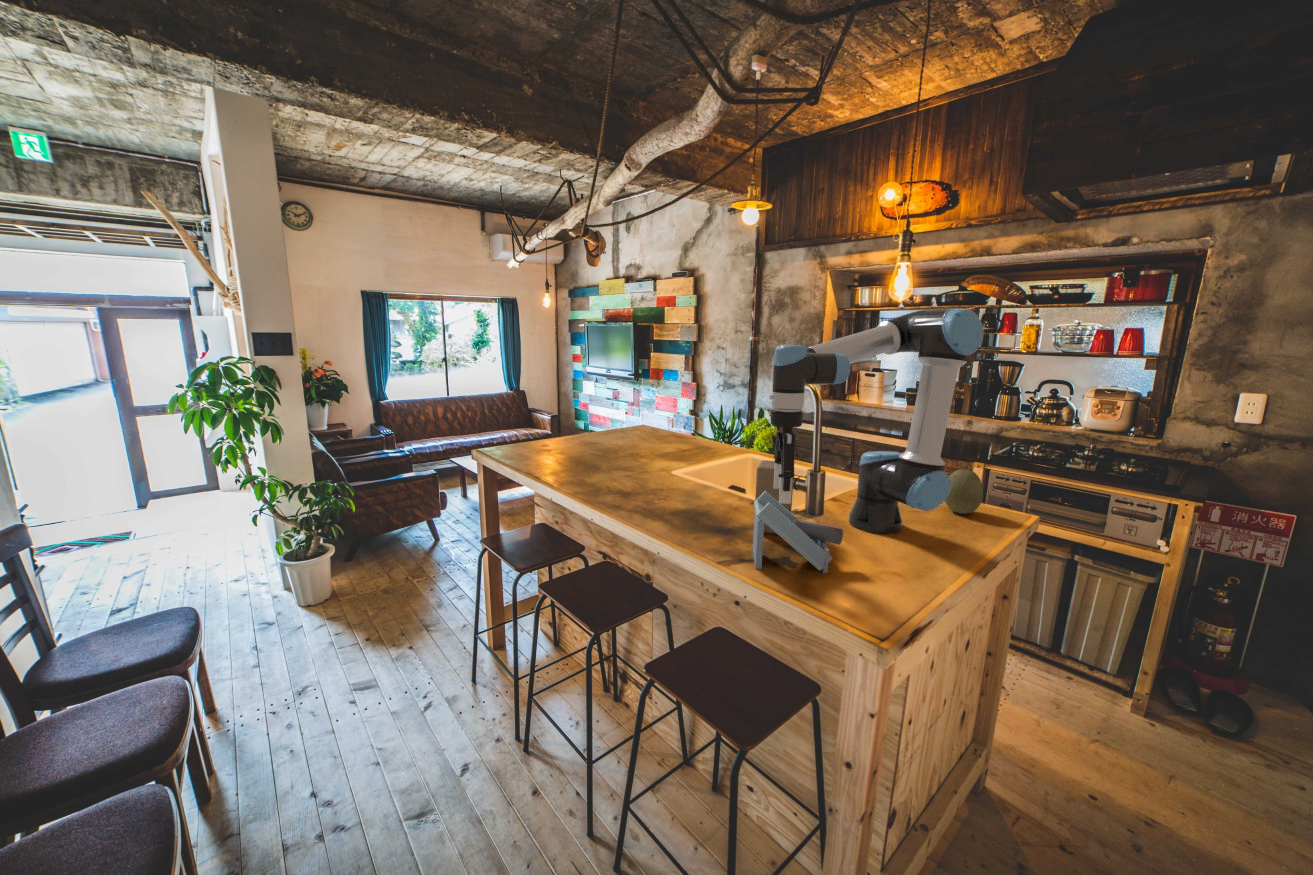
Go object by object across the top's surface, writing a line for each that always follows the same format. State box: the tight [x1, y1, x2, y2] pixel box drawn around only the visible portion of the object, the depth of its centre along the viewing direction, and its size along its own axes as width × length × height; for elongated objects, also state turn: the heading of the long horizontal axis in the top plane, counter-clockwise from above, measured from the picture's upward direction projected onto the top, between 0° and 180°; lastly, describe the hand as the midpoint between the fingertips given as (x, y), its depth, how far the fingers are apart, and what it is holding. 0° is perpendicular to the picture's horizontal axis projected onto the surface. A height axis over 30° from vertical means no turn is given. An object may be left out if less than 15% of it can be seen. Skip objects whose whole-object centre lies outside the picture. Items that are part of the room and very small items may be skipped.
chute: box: [752, 491, 834, 574], centre depth 130 cm, size 19×10×17 cm, turn 83°
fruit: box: [944, 468, 984, 515], centre depth 169 cm, size 11×11×15 cm
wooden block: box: [753, 459, 795, 535], centre depth 152 cm, size 10×10×20 cm
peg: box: [792, 518, 844, 545], centre depth 130 cm, size 4×4×12 cm
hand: (781, 495), depth 128 cm, fingers open, 11 cm apart
